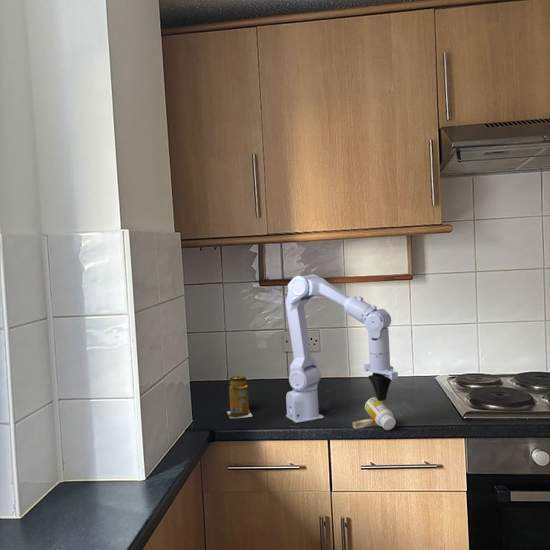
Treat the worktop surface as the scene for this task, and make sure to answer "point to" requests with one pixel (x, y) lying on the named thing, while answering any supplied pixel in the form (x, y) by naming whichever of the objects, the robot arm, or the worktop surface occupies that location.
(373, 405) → the supplement bottle
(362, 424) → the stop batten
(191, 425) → the worktop surface
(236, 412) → the condiment
